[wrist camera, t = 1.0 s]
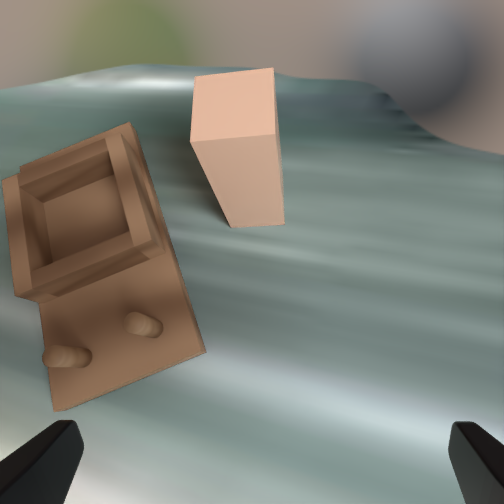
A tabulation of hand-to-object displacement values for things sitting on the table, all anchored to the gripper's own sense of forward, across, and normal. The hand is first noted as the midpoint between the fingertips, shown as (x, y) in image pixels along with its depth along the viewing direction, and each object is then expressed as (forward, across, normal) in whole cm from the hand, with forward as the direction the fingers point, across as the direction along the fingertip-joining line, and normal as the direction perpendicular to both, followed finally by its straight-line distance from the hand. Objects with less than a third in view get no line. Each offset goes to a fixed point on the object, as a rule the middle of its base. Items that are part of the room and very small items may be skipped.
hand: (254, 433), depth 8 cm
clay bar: (+19, +1, -1) cm, 19 cm away
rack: (+17, +13, +1) cm, 22 cm away
